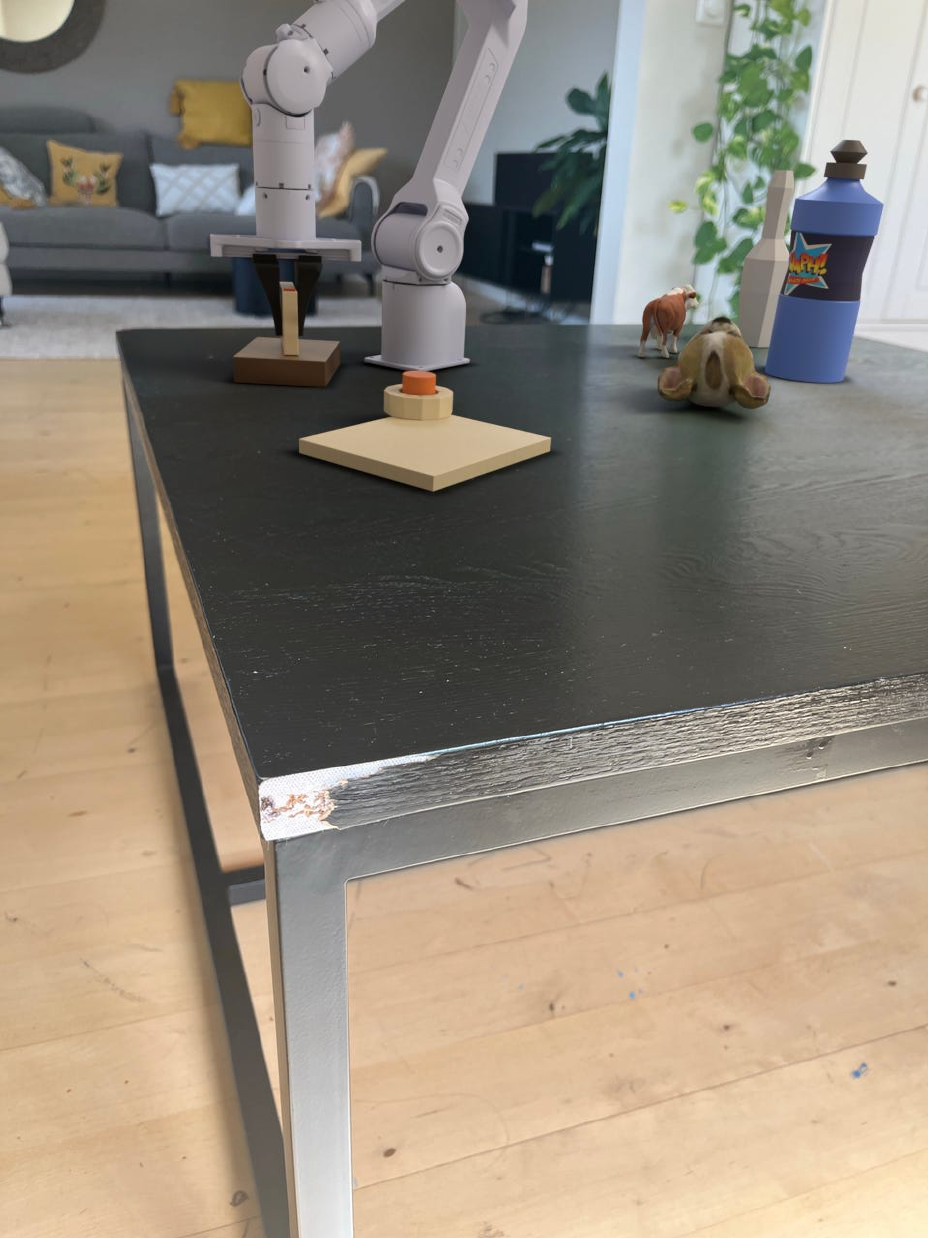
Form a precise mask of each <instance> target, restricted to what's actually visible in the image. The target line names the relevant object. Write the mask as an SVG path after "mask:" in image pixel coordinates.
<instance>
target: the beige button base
mask: <svg viewBox="0 0 928 1238" xmlns="http://www.w3.org/2000/svg"><path fill="white" fill-rule="evenodd" d="M453 405H454V391H453V390H451V389H450V388H447V387H445V386H440V385H436V389H435V395H421V396H420V395H409V394H404V393H402V383H400V384H394V385H389V386H387V387H385V389H383V412H384V413H385V414H387V415H388V417H385V418H380V419H376V420H372V421H367V422H363V423H360V424H359V423H358V424H355V425H350V426H347V427H343V428H338V429H334V430H330V431H326V432H322V433H318V434H313V435H309V436H305V437H299V439H298V453H299V454H302V455H305V456H308V457H312V458H315V459H319V460H322V461H326V462H329V463H332V464H337V465H339V466H343V467H347V468H350V469H354V470H357V471H361V472H364V473H367V474H371V475H374V476H378V477H381V478H384V479H389V480H392V481H394V482H399V483H403V484H406V485H409V486H412V487H416V488H420V489H423V490H425V491H426V490H427V491H430V492H435V491H438V490H442V489H444V488H447V487H450V486H453V485H456V484H458V483H462V482H465V481H467V480H470V479H473V478H476V477H478V476H479V477H480V476H482V475H485V474H487V473H491V472H494V471H496V470H499V469H502V468H506V467H508V466H511V465H514V464H517V463H520V462H522V461H527V460H528V459H532V458H534V457H537V456H540V455H543V454H545V453H549V452H551V444H552V437H549V436H546V435H542V434H541V435H540V434H537V433H533V432H528V431H523V430H521V429H514V428H511V427H507V426H502V425H497V424H493V423H489V422H485V421H480V420H476V419H471V418H467V417H463V416H458V415H455V414H452V413H453V408H454V407H453Z"/></svg>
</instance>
